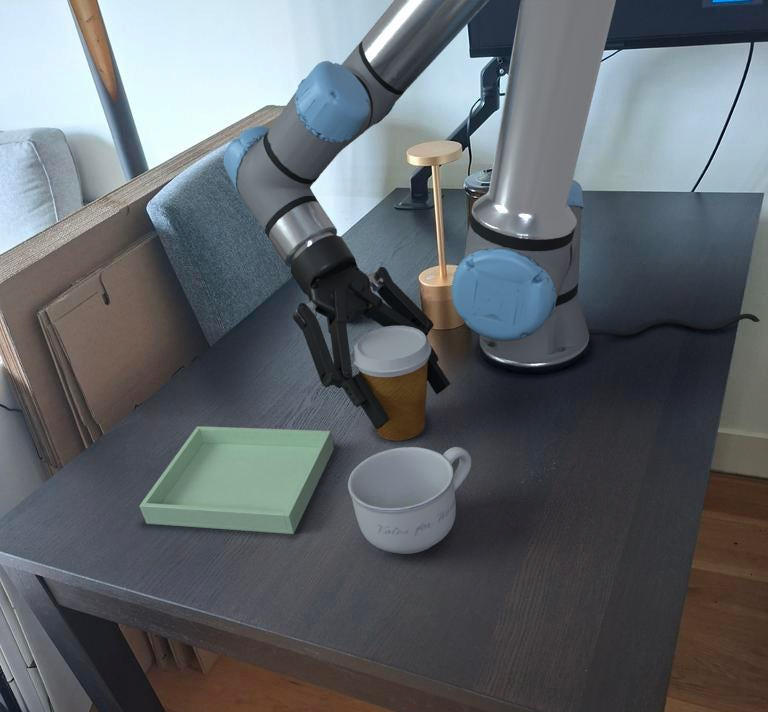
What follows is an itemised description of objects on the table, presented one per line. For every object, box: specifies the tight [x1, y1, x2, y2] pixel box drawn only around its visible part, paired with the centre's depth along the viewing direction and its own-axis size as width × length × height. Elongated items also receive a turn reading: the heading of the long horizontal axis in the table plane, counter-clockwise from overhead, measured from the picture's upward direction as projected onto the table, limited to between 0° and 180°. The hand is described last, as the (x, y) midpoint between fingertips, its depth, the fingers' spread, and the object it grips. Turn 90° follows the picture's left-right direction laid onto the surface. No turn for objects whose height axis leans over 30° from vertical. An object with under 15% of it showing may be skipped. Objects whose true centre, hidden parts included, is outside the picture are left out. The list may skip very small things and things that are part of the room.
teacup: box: [347, 446, 472, 555], centre depth 79 cm, size 14×11×8 cm
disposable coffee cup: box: [351, 326, 432, 442], centre depth 93 cm, size 10×10×12 cm
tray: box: [138, 425, 335, 535], centre depth 91 cm, size 18×16×3 cm
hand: (414, 406), depth 92 cm, fingers closed on disposable coffee cup, 9 cm apart
